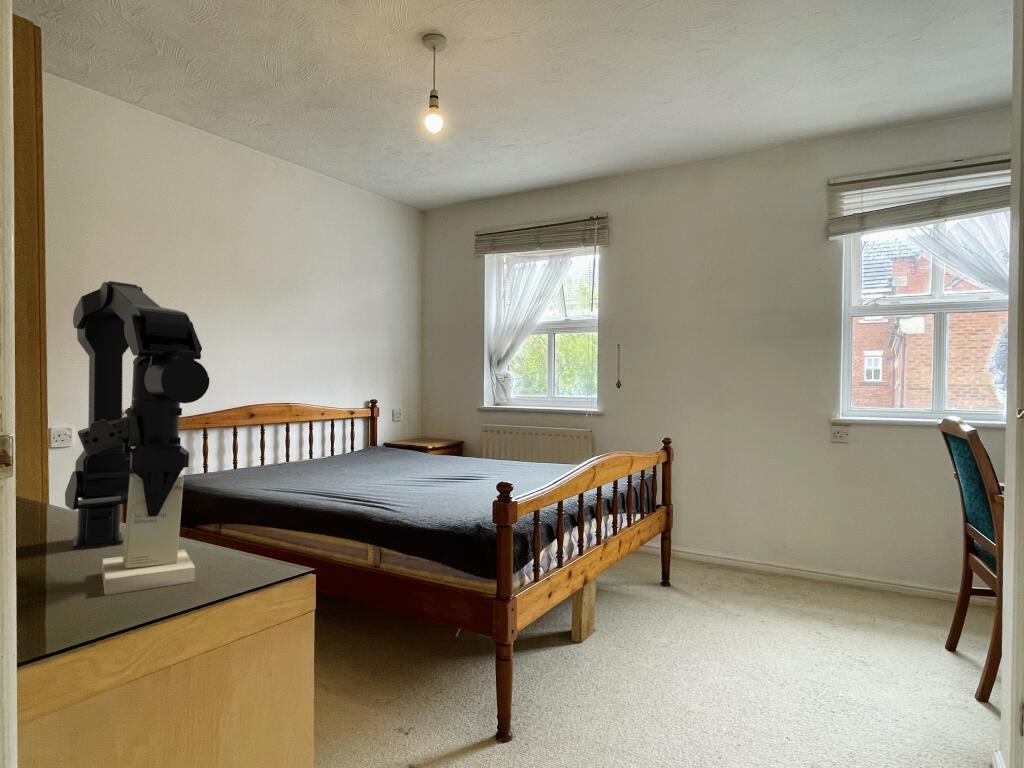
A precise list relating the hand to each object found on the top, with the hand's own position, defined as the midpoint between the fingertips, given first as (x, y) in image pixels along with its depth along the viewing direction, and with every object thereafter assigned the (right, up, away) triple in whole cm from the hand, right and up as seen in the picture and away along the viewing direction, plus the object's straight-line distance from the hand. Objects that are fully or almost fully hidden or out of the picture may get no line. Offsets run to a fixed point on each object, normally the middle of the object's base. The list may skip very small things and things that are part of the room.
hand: (150, 512), depth 79 cm
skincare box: (0, -7, 0) cm, 7 cm away
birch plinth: (0, -9, 0) cm, 9 cm away
